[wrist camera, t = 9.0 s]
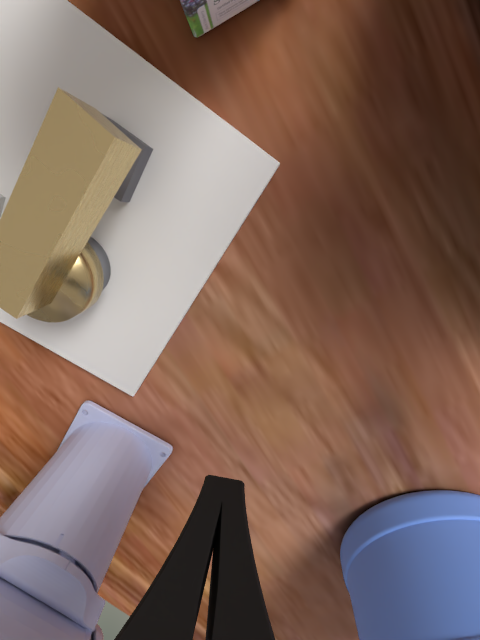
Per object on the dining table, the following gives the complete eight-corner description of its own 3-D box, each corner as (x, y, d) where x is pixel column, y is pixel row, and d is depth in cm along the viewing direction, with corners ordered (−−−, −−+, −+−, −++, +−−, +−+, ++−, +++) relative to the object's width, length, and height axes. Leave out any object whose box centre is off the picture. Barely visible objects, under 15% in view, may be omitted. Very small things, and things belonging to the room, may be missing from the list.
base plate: (137, 390, 21) (123, 410, 19) (-100, 255, 19) (-146, 261, 17) (279, 165, 15) (281, 158, 13) (-54, -89, 12) (-121, -151, 10)
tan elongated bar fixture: (2, 274, 16) (-71, 293, 12) (88, 95, 12) (19, 52, 9) (78, 328, 17) (30, 360, 13) (179, 177, 13) (148, 167, 10)
